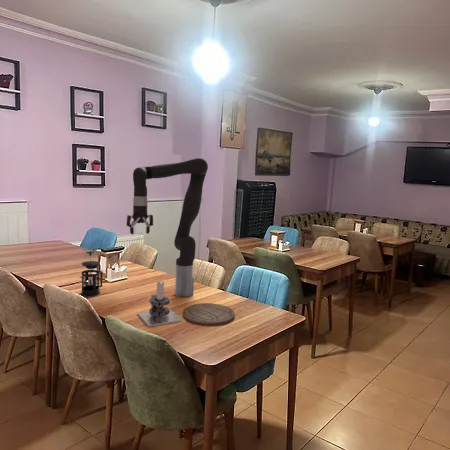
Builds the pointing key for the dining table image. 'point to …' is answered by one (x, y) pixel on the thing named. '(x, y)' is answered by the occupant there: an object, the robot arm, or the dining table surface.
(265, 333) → the dining table surface
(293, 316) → the dining table surface
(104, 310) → the dining table surface
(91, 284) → the french press
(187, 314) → the trivet
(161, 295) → the tube
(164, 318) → the collar stand
